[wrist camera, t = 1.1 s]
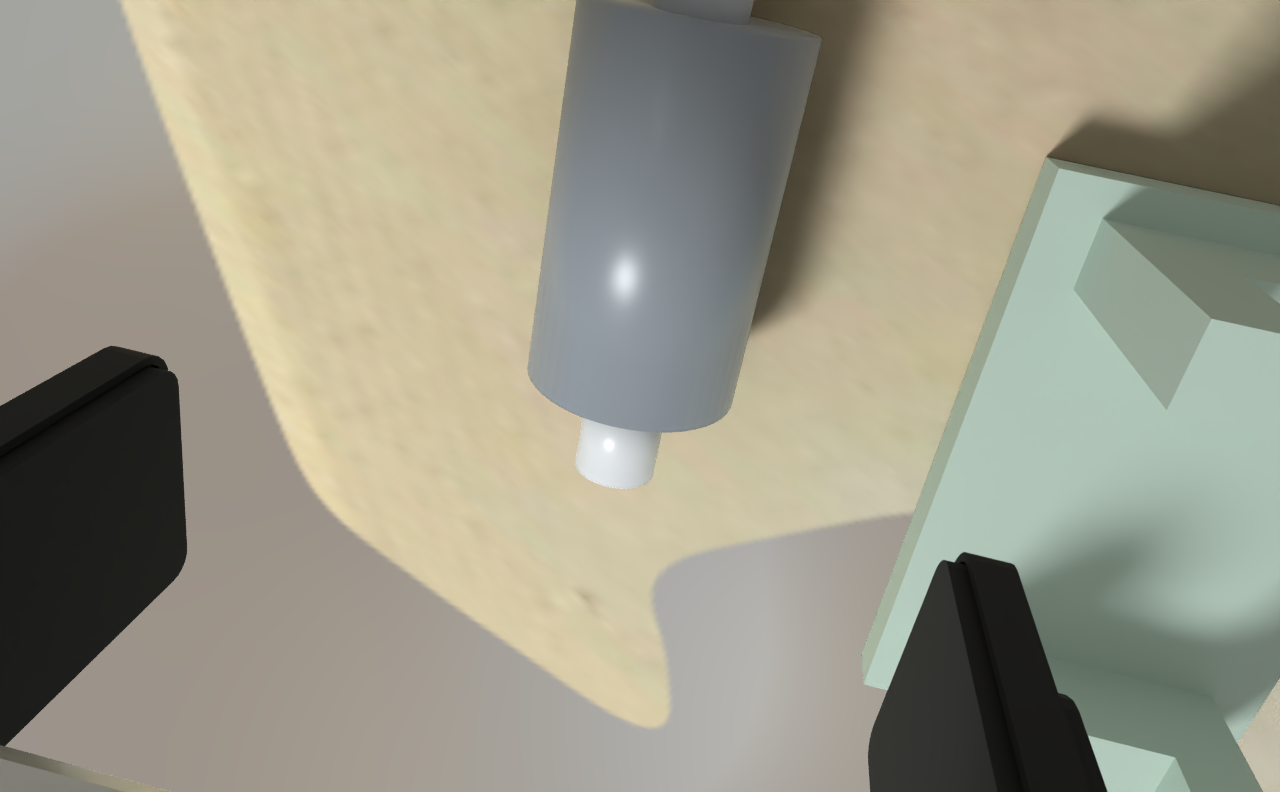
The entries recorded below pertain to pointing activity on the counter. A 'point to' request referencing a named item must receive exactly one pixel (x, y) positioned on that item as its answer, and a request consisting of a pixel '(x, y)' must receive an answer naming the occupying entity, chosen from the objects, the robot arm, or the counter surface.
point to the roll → (662, 217)
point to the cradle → (1124, 469)
